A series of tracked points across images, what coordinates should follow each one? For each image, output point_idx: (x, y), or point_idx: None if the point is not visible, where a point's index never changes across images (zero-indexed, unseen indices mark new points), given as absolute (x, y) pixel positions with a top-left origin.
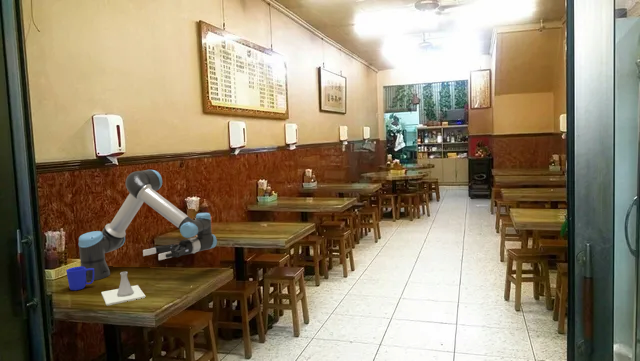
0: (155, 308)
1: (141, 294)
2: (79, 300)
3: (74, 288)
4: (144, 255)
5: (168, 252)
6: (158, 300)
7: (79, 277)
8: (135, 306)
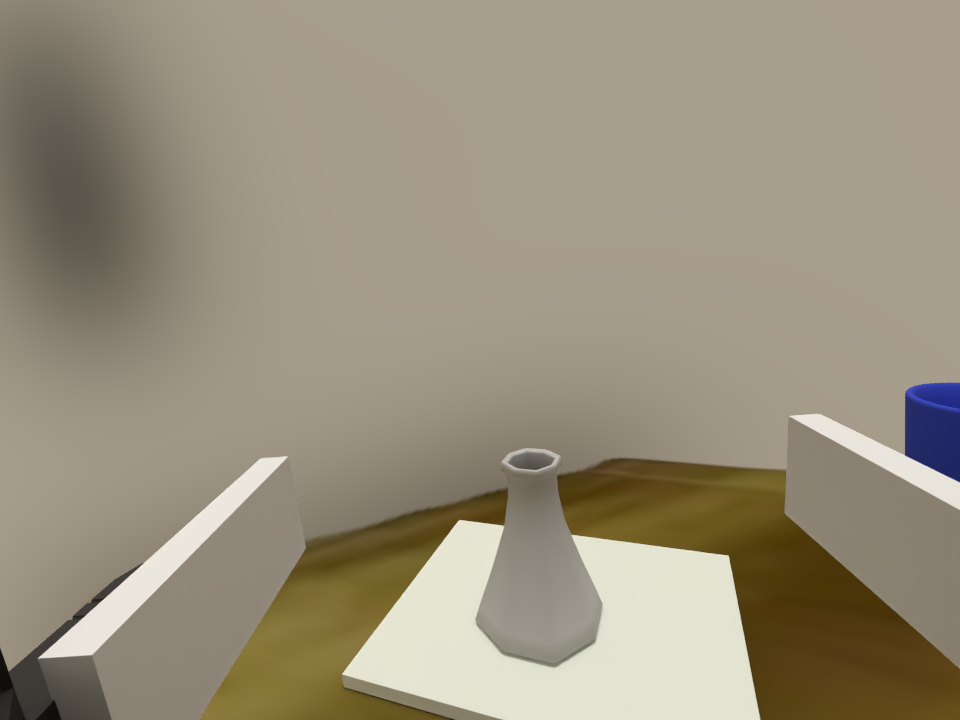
0: None
1: (408, 672)
2: (667, 496)
3: None
4: (790, 511)
5: (125, 583)
6: None
7: (917, 449)
8: (287, 589)
